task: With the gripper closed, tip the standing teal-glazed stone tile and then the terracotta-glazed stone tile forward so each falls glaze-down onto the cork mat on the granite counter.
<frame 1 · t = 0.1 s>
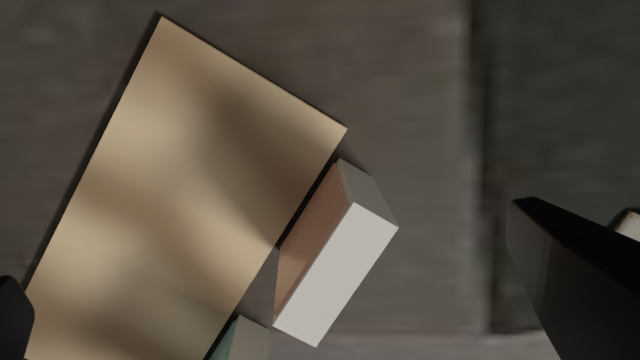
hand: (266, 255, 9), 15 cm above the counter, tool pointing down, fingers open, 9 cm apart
cork mat: (165, 240, 25), on the counter
tile terracotta: (325, 214, 25), on the counter
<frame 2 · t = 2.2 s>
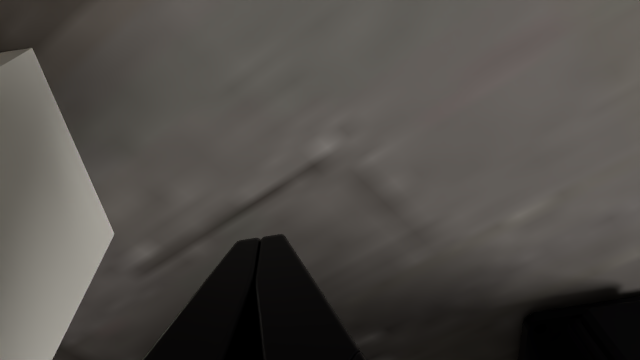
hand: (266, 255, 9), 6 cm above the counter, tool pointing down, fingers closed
tile teal: (43, 156, 14), on the counter
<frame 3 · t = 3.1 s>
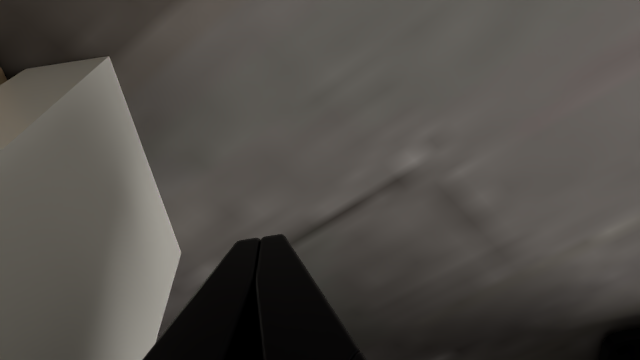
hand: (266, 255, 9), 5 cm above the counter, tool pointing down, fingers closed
tile teal: (112, 171, 13), on the counter
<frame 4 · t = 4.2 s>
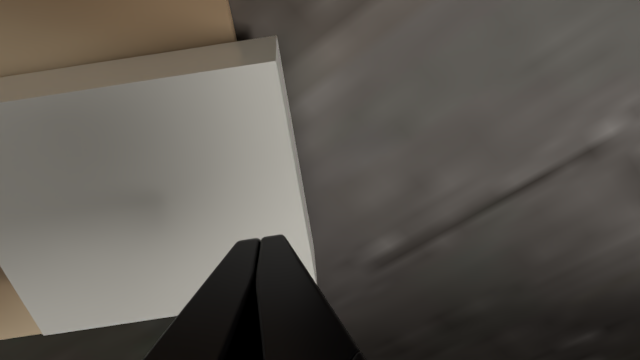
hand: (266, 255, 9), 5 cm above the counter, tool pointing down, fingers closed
tile teal: (298, 172, 11), point 2 cm above the counter, tilted 90°, touching cork mat
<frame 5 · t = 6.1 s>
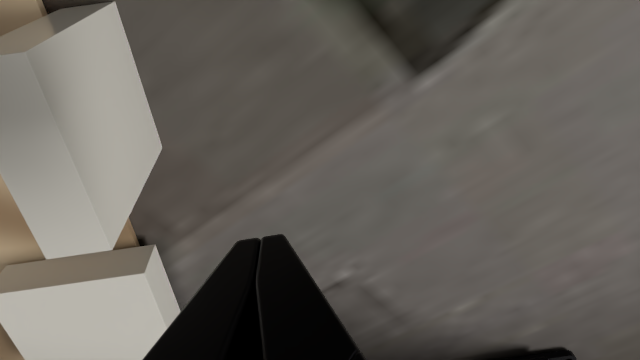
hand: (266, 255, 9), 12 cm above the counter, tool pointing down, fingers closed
cork mat: (14, 220, 21), on the counter
tile terracotta: (115, 83, 19), on the counter
tile teal: (168, 306, 23), point 2 cm above the counter, tilted 90°, touching cork mat
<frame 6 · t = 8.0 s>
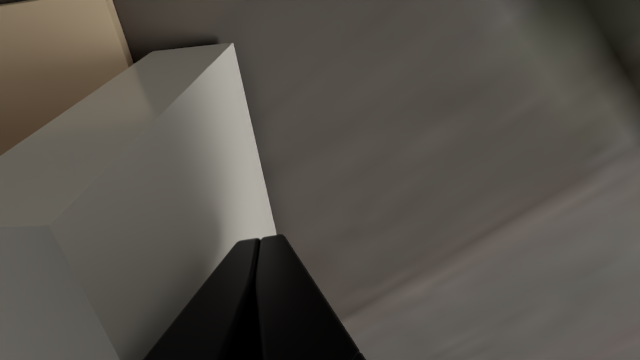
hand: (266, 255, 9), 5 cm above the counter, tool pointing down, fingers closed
cork mat: (67, 334, 15), on the counter
tile terracotta: (222, 159, 13), on the counter, tilted 11°
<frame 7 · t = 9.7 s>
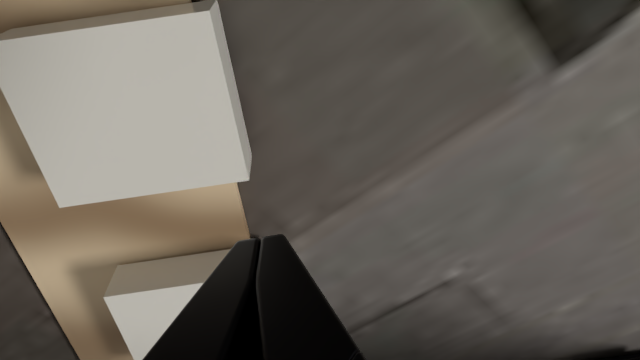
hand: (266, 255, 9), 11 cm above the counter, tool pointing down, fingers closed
cork mat: (128, 218, 21), on the counter
tile terracotta: (233, 93, 17), point 2 cm above the counter, tilted 90°, touching cork mat
tile teal: (282, 307, 22), point 2 cm above the counter, tilted 90°, touching cork mat
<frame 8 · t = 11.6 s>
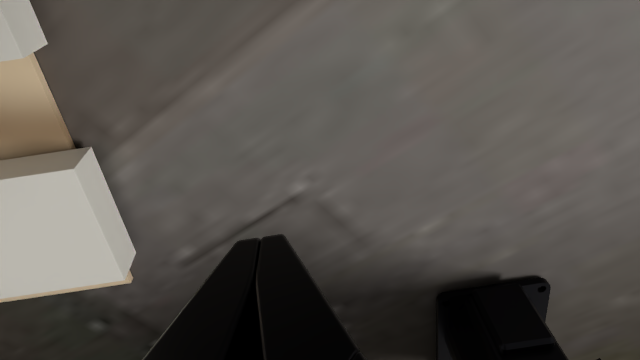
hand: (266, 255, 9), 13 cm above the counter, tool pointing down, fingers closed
tile teal: (108, 215, 21), point 2 cm above the counter, tilted 90°, touching cork mat
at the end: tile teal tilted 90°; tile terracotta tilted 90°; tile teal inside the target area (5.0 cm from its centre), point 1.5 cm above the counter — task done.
